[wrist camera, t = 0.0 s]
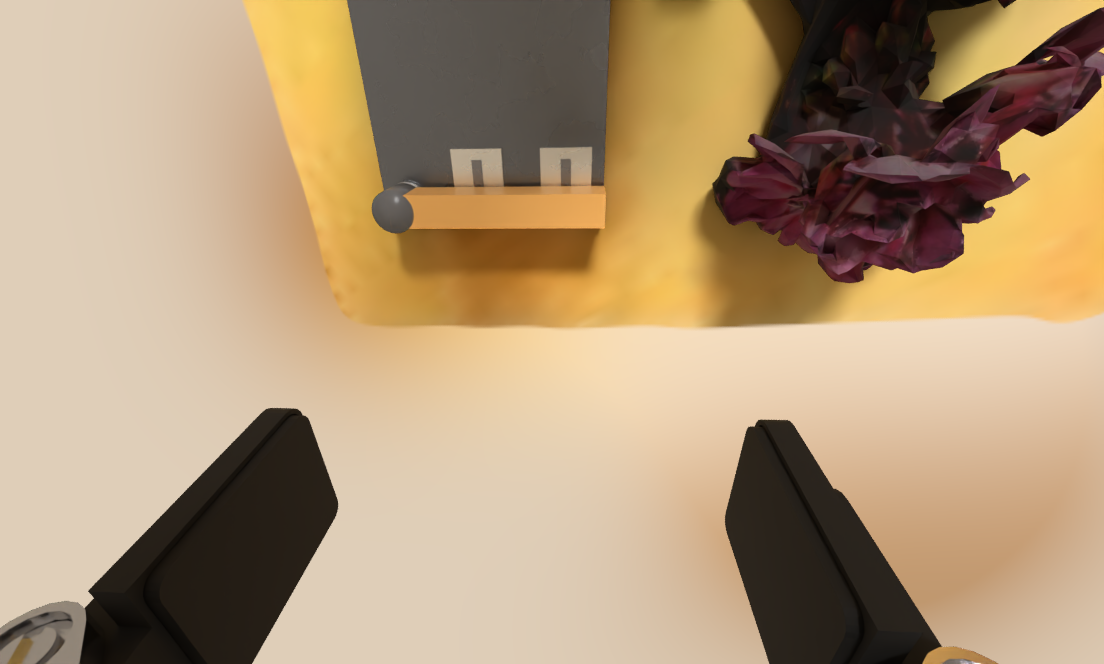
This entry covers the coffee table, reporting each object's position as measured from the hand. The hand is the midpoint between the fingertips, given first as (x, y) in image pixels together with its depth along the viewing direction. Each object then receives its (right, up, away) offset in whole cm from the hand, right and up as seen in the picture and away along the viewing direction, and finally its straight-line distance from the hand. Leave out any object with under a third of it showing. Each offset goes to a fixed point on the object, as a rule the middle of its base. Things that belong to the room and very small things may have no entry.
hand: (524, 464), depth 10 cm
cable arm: (-4, +13, +26) cm, 30 cm away
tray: (-4, +21, +24) cm, 33 cm away
